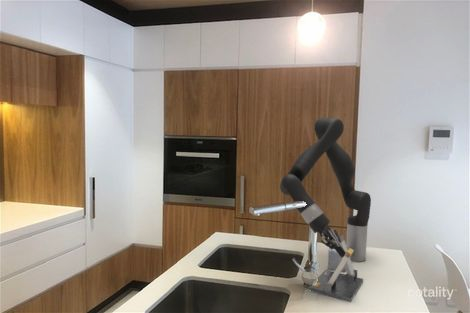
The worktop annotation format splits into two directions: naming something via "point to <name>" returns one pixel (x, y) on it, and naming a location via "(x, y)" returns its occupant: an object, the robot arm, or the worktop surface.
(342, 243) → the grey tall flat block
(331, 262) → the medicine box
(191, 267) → the worktop surface
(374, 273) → the worktop surface
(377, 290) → the worktop surface
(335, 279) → the white rocker
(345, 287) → the switch panel
